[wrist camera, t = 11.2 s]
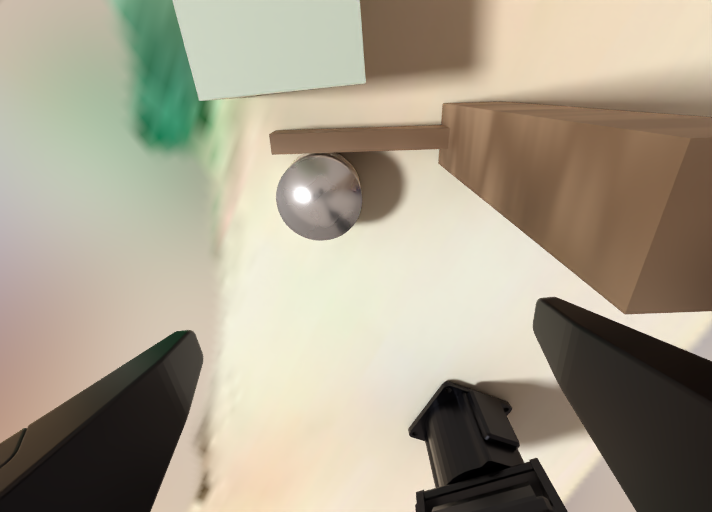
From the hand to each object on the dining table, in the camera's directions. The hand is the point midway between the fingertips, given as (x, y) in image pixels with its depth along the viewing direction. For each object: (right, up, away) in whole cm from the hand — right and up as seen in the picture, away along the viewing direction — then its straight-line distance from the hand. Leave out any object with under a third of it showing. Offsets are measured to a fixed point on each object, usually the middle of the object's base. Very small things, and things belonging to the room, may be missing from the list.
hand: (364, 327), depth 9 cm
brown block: (+2, +9, +10) cm, 14 cm away
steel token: (-2, +6, +12) cm, 13 cm away
